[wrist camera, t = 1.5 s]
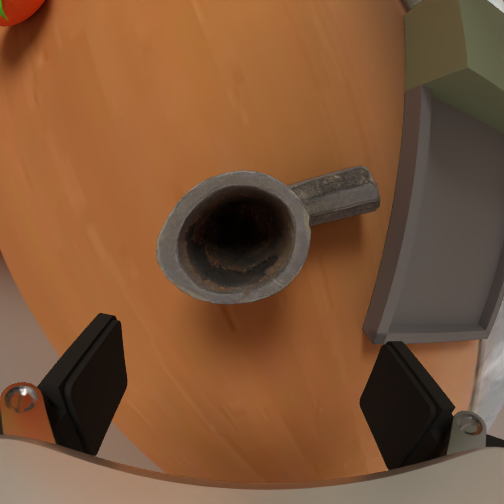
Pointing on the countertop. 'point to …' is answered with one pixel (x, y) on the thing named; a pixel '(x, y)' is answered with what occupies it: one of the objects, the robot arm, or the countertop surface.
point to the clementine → (17, 10)
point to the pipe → (253, 231)
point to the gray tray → (446, 181)
